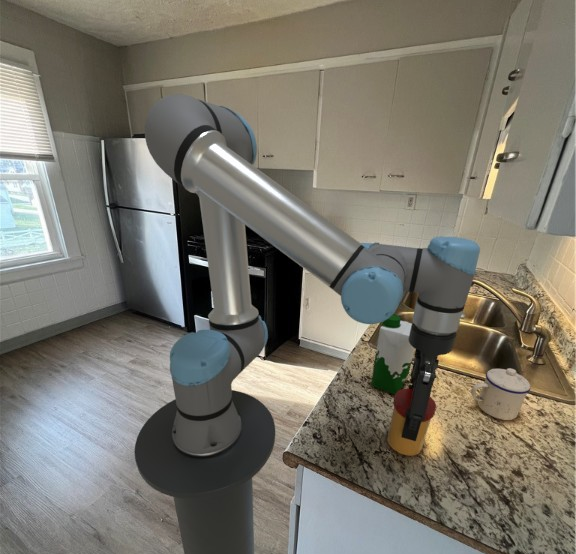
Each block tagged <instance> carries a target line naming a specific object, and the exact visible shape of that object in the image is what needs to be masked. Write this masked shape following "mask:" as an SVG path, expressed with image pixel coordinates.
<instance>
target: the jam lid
mask: <svg viewBox="0 0 576 554" xmlns="http://www.w3.org/2000/svg"><path fill="white" fill-rule="evenodd" d="M412 393H413V389H408V388H401V390H399V391H398V392H397V393H396V394H394V397H393V402H392V404H393V408H394V407H395V409H396V411H397V412H398V413H400V414H401V415H402V416H404V417H406V415H407V414H405V413H404V412H405V410H409V408H410V403H411V398H412ZM436 411H437V404H436V401H435V400H434V399H433V398H432V397H431V396H430V398H429V402H428V406H427V410H426V414H425V420H424V421H428V420H430V419H433V418H434V417H435V415H436ZM430 421H431V420H430Z"/></svg>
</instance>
